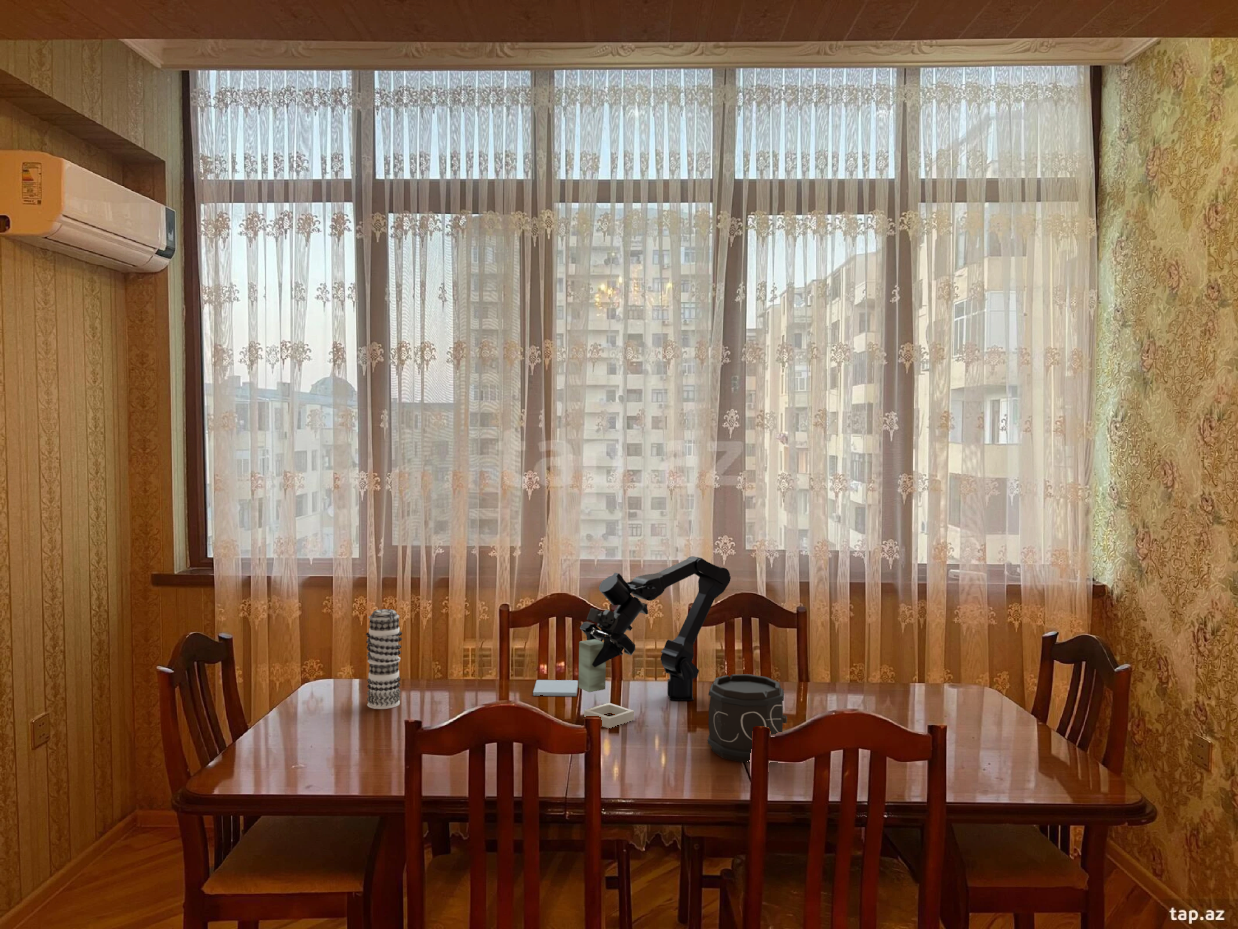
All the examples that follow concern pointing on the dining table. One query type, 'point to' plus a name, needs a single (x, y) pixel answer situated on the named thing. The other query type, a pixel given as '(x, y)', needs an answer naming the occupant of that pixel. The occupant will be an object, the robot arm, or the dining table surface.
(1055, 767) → the dining table surface
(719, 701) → the dark grey coffee canister
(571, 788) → the dining table surface
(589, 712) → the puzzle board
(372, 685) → the decorative candle
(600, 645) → the green block
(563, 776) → the dining table surface
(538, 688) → the slate pad
